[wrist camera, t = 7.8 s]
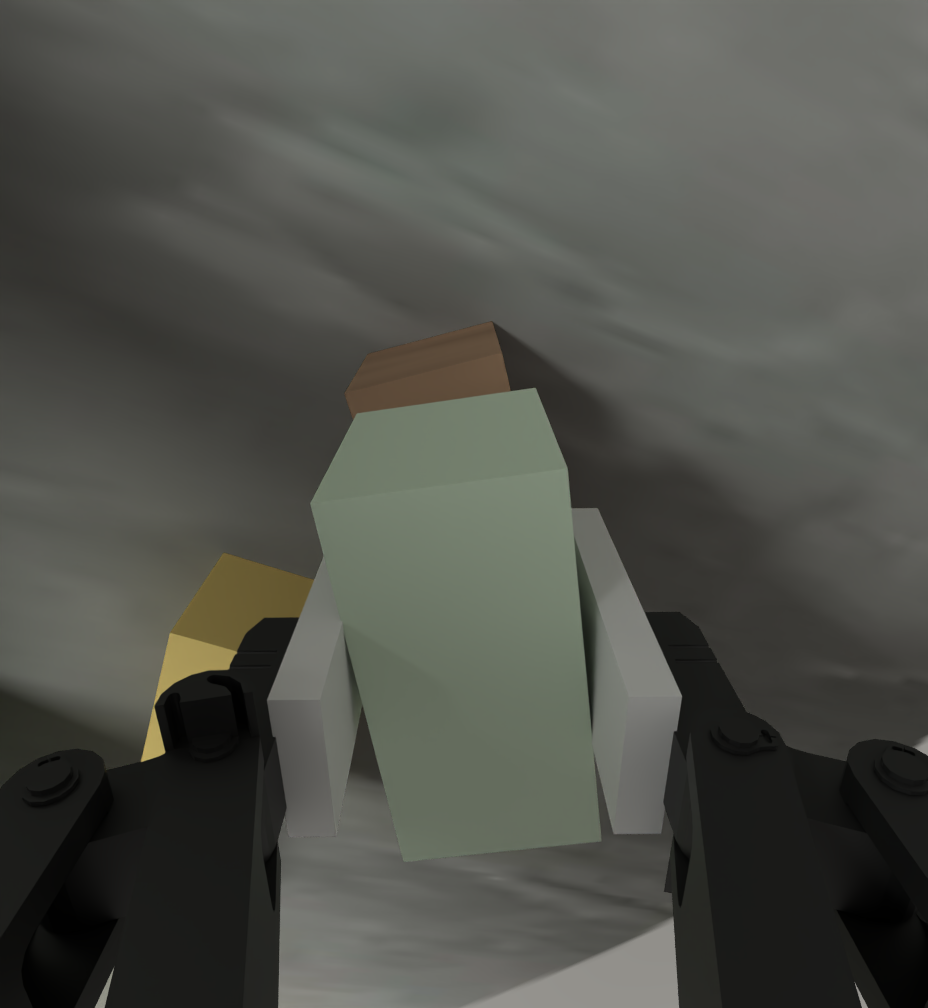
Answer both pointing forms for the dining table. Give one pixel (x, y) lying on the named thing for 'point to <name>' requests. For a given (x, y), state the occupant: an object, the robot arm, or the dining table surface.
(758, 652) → the dining table surface
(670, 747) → the robot arm
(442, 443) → the sage brick
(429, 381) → the walnut brick
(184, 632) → the mustard brick
